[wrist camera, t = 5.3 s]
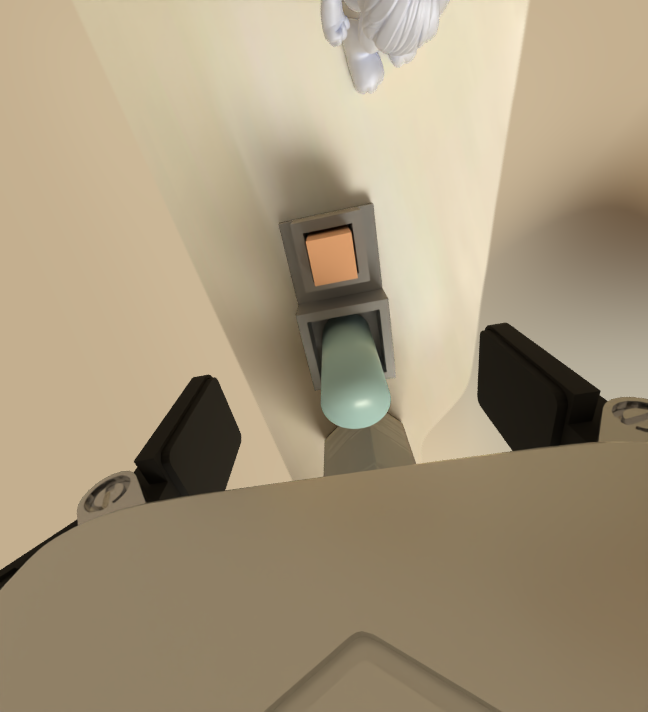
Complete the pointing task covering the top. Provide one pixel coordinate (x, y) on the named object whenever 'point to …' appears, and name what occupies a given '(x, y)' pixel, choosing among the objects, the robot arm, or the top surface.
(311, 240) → the plunger
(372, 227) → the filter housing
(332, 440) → the skincare box
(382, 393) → the cartridge
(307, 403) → the top surface
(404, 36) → the toy figurine
